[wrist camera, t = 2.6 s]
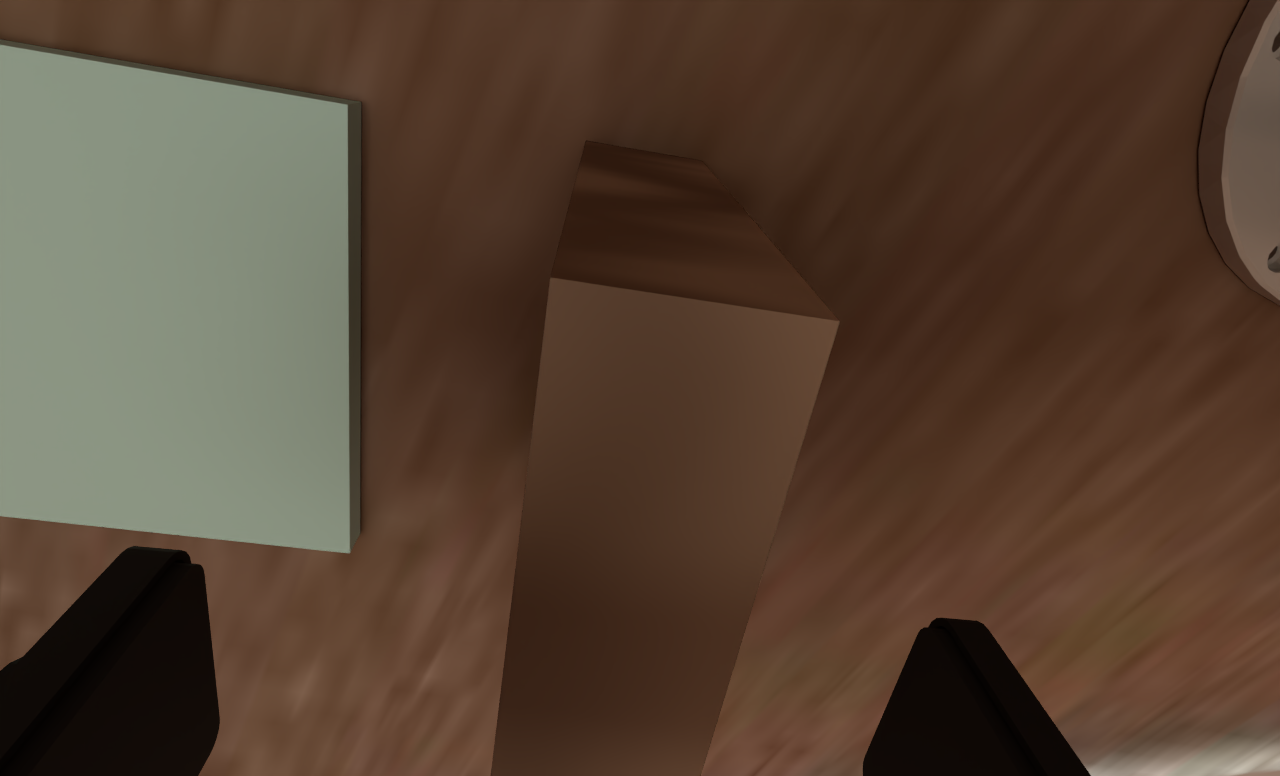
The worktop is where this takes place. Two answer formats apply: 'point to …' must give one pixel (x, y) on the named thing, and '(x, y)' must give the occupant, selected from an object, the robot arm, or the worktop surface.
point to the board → (651, 468)
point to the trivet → (178, 302)
